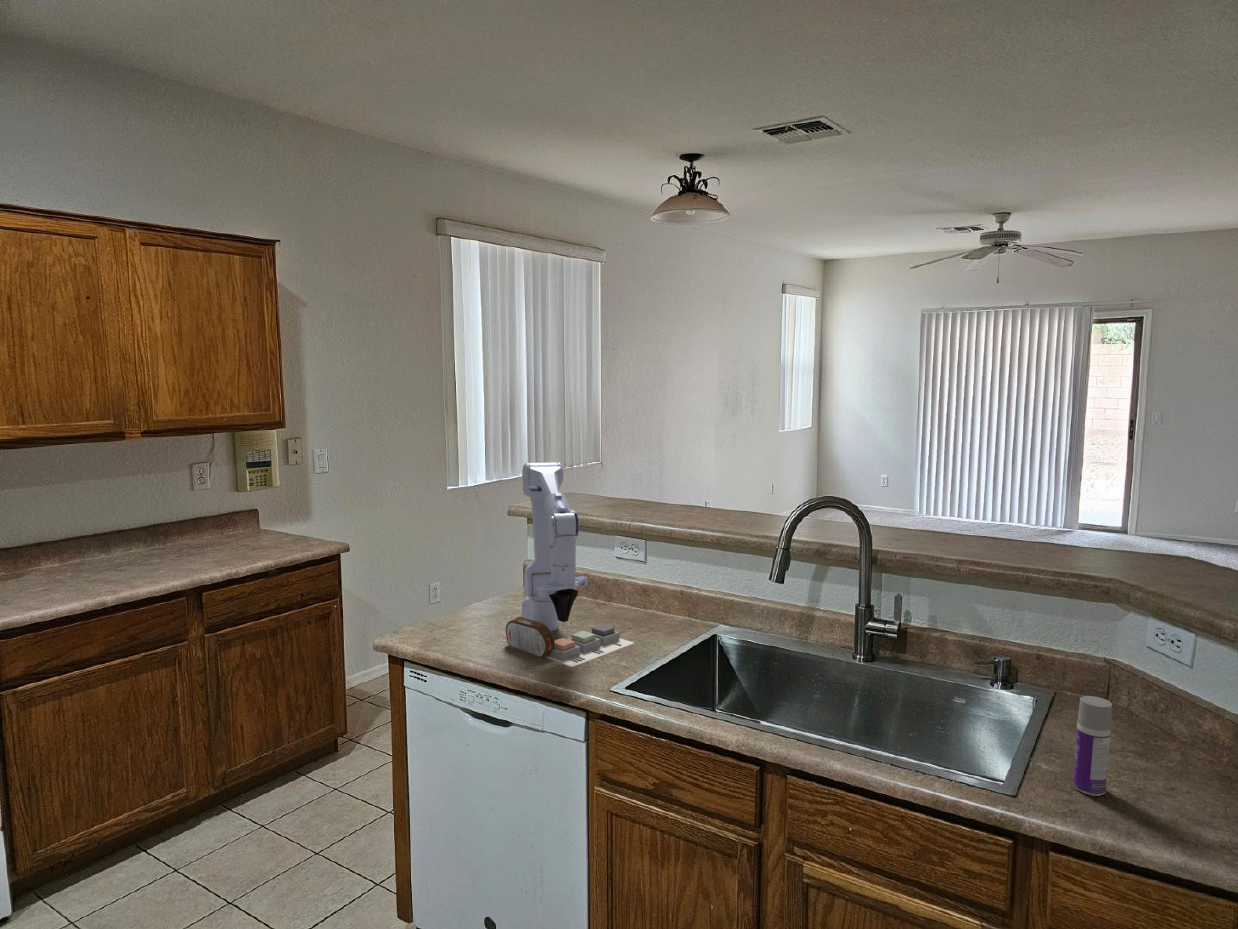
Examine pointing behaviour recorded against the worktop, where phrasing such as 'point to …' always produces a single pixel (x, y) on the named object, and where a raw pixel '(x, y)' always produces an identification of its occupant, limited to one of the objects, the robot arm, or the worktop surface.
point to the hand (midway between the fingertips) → (563, 620)
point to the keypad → (589, 649)
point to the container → (1092, 744)
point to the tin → (530, 636)
